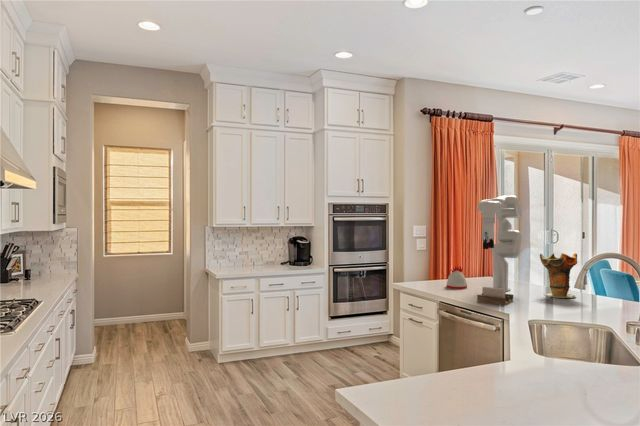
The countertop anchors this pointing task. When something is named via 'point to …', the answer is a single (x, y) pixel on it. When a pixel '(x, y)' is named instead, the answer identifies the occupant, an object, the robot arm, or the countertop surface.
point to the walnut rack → (495, 299)
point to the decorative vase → (559, 274)
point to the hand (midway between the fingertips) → (488, 248)
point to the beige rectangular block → (493, 292)
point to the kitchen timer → (456, 279)
